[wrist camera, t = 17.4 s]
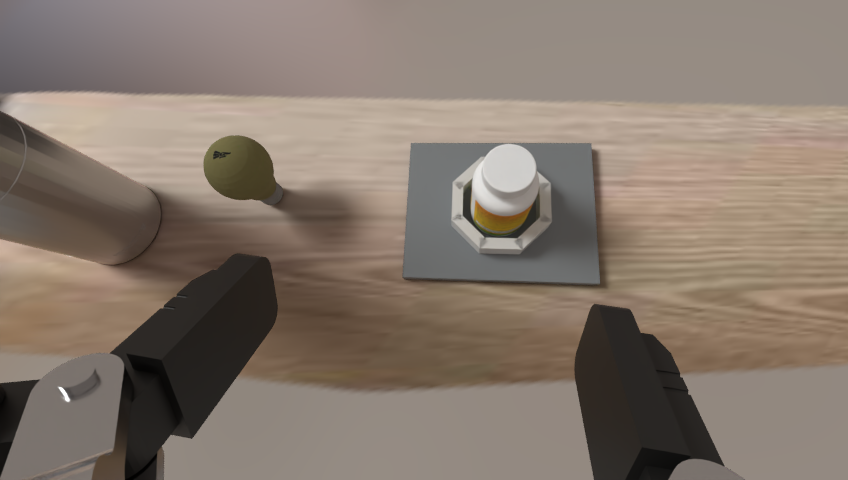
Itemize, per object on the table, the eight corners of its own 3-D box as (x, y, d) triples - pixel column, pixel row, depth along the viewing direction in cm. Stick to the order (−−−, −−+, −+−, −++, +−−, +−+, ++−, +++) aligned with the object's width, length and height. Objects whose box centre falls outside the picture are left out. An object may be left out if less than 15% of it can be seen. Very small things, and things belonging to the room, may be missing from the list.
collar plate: (404, 278, 40) (399, 273, 37) (412, 147, 43) (408, 133, 40) (596, 285, 38) (607, 279, 35) (588, 148, 42) (597, 133, 39)
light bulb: (257, 231, 42) (198, 195, 33) (242, 185, 44) (181, 139, 34) (307, 208, 43) (262, 167, 33) (290, 164, 44) (243, 112, 34)
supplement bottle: (534, 229, 39) (557, 190, 29) (479, 244, 39) (484, 210, 30) (516, 178, 40) (533, 126, 31) (463, 193, 40) (464, 145, 31)
